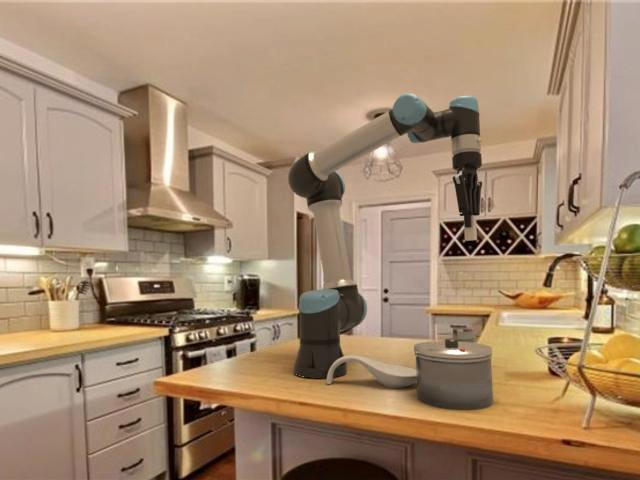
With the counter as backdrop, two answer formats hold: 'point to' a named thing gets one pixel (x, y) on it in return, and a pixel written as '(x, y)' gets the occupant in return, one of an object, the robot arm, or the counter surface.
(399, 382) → the spoon rest
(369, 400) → the counter surface
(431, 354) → the lid
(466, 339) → the food container
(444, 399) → the cooker pot
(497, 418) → the counter surface
